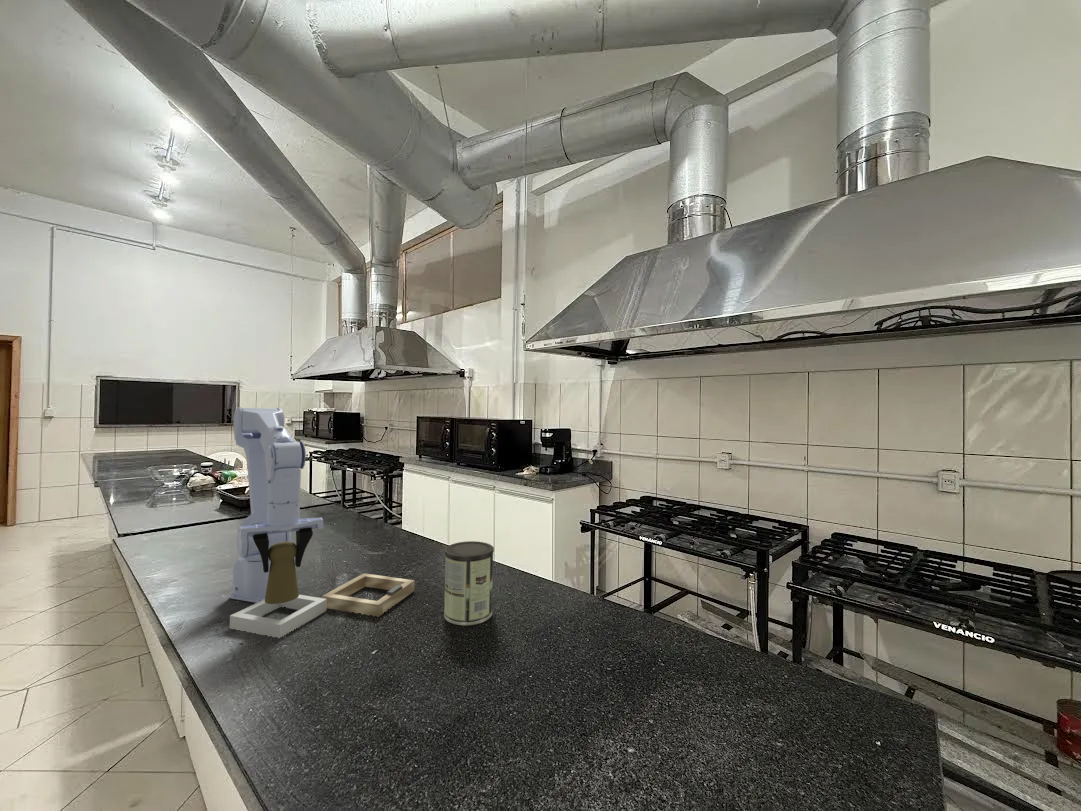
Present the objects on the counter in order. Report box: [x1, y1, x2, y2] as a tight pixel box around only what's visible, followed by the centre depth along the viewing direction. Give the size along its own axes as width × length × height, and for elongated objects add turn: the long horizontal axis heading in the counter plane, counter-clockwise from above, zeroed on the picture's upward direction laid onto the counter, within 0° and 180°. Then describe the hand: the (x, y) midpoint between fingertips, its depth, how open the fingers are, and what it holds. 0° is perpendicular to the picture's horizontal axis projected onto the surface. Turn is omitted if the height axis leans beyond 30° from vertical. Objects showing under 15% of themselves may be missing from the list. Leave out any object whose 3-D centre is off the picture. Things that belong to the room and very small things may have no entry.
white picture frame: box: [229, 594, 328, 639], centre depth 91 cm, size 12×12×2 cm
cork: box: [265, 541, 300, 604], centre depth 90 cm, size 6×6×11 cm
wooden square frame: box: [321, 573, 416, 618], centre depth 101 cm, size 14×14×3 cm
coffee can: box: [443, 540, 495, 626], centre depth 95 cm, size 10×10×14 cm
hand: (282, 568), depth 91 cm, fingers closed on cork, 5 cm apart
